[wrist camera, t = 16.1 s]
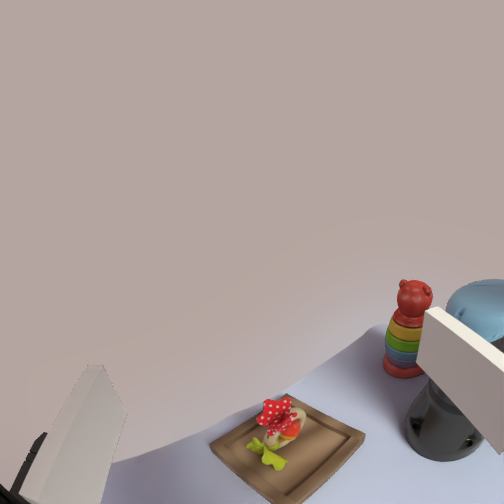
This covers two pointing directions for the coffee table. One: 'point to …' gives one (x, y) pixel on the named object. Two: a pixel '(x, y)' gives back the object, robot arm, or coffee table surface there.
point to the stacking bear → (406, 329)
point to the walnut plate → (290, 455)
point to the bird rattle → (277, 430)
